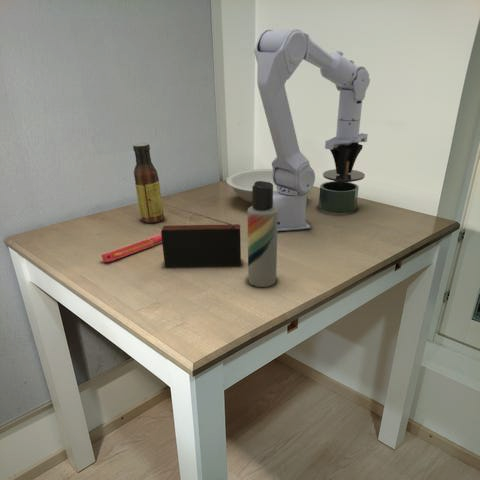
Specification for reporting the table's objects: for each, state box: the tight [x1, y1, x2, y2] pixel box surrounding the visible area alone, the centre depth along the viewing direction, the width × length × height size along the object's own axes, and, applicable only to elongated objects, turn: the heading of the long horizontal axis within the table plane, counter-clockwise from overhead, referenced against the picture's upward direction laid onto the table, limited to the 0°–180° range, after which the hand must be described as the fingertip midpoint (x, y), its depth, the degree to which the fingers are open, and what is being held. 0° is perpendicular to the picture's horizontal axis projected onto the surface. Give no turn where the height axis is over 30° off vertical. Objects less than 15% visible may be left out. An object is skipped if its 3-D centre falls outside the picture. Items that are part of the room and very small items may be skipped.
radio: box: [148, 199, 242, 268], centre depth 100 cm, size 19×3×15 cm, turn 90°
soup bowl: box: [225, 168, 278, 204], centre depth 139 cm, size 24×24×7 cm
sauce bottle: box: [132, 142, 165, 224], centre depth 123 cm, size 7×6×20 cm
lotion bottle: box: [247, 181, 278, 288], centre depth 91 cm, size 6×6×20 cm
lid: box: [322, 160, 366, 183], centre depth 127 cm, size 11×11×5 cm
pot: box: [318, 180, 360, 214], centre depth 132 cm, size 10×10×6 cm
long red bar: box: [100, 233, 162, 263], centre depth 112 cm, size 24×2×5 cm
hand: (343, 173), depth 128 cm, fingers closed on lid, 2 cm apart
